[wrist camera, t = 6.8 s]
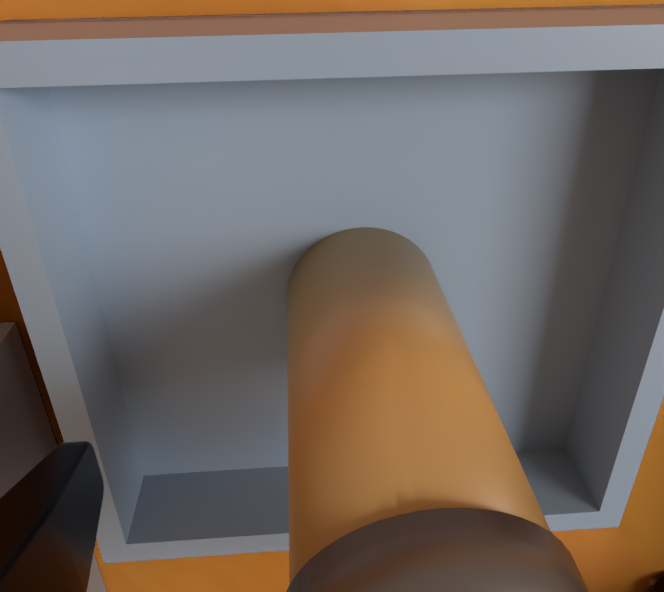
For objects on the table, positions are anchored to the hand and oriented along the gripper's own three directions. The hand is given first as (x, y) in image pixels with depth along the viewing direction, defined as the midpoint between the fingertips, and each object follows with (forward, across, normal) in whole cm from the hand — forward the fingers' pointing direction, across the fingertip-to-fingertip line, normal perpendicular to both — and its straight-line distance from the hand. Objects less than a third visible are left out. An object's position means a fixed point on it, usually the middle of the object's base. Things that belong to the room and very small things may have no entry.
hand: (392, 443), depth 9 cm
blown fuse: (+4, 0, 0) cm, 4 cm away
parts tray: (+5, 0, 0) cm, 5 cm away
